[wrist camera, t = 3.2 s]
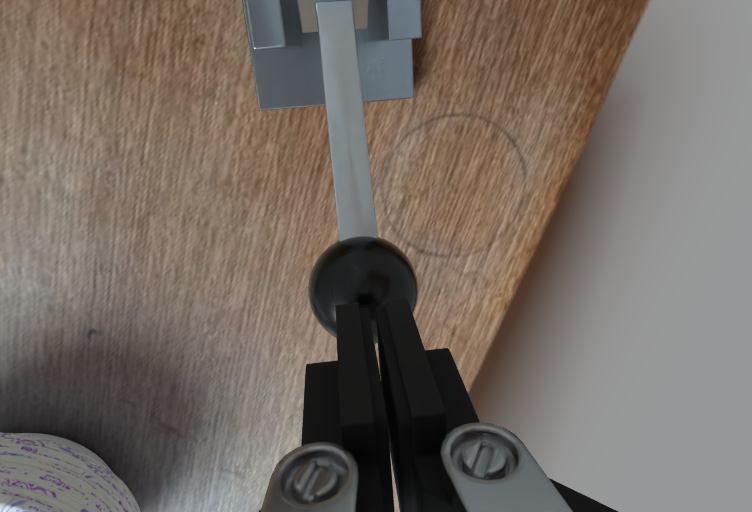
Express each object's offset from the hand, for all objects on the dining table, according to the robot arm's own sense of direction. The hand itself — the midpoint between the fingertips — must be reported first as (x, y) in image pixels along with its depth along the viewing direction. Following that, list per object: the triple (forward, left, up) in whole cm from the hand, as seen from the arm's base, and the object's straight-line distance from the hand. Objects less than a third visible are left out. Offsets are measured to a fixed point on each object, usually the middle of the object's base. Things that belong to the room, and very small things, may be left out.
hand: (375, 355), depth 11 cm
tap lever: (-4, 0, -7) cm, 8 cm away
